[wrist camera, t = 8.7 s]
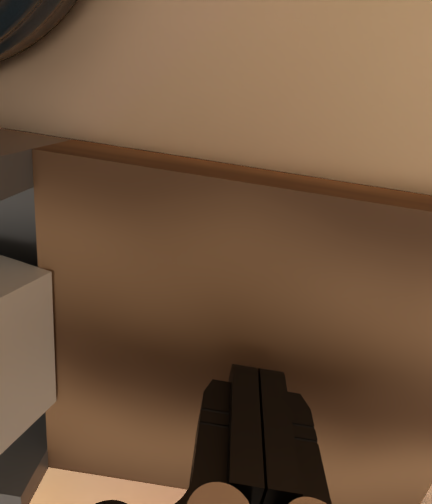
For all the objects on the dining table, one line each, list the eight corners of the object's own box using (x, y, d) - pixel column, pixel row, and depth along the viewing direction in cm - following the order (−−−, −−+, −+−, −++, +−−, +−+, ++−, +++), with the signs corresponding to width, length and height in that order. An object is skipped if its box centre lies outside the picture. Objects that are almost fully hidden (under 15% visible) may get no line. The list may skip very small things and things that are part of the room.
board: (72, 139, 12) (31, 148, 9) (506, 207, 12) (571, 233, 9) (75, 415, 16) (48, 466, 14) (385, 465, 16) (408, 524, 14)
